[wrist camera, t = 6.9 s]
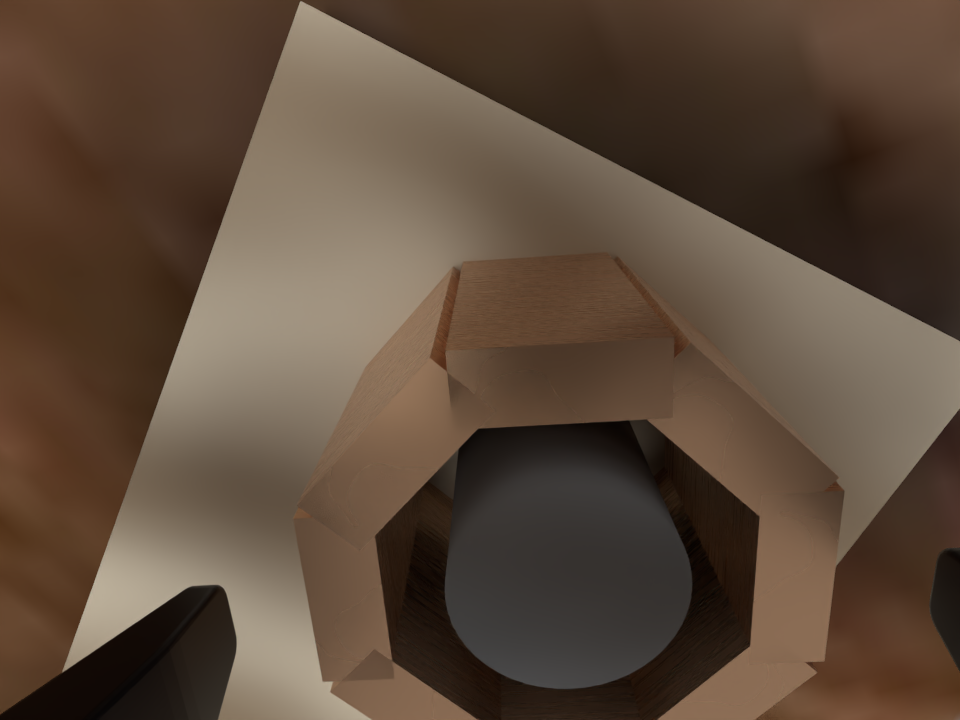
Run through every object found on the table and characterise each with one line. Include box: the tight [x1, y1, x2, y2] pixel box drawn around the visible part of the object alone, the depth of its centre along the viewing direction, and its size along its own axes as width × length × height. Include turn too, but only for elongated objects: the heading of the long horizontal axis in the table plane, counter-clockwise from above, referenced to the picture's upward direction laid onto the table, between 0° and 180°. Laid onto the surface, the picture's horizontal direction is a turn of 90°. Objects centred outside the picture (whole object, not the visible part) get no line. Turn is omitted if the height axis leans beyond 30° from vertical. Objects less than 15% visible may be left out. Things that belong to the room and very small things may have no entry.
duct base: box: [63, 1, 960, 720], centre depth 14 cm, size 20×14×6 cm
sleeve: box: [293, 252, 845, 720], centre depth 11 cm, size 7×7×5 cm
